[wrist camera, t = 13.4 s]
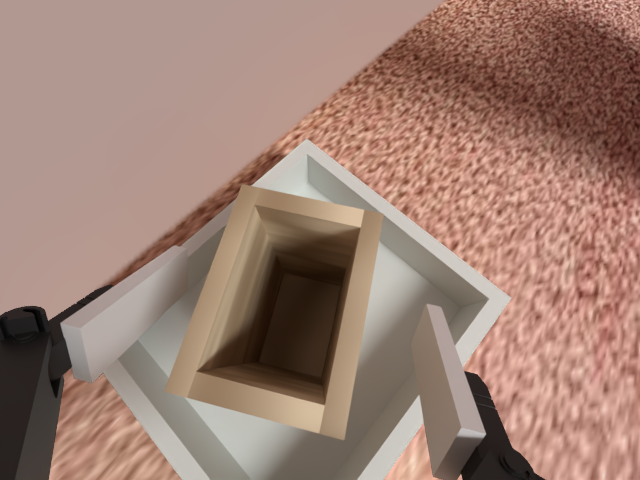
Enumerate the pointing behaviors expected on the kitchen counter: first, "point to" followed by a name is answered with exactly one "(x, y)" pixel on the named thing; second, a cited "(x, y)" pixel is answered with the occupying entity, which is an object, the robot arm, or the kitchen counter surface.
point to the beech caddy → (282, 312)
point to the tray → (373, 364)
